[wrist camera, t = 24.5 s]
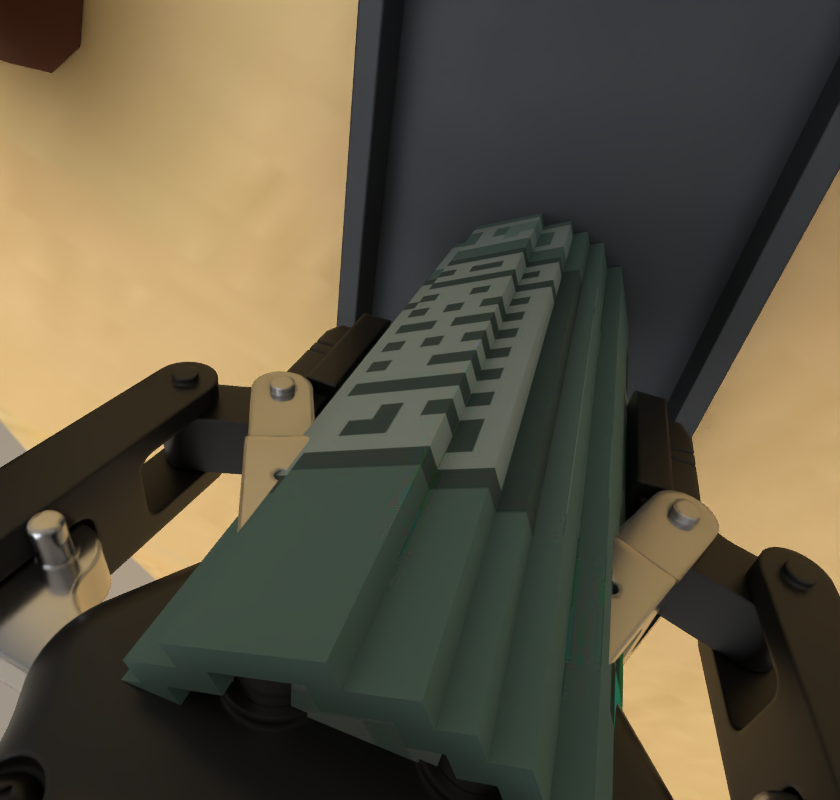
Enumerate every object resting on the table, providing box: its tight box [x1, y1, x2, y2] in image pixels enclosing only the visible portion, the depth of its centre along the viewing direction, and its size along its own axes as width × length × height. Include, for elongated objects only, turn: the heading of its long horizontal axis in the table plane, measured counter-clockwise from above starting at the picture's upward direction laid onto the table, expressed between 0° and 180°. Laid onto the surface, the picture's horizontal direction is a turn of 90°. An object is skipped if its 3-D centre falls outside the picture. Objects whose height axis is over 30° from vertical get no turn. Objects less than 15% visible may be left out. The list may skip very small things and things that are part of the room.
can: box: [121, 213, 629, 800], centre depth 13 cm, size 6×6×15 cm
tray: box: [337, 0, 840, 438], centre depth 14 cm, size 12×26×2 cm, turn 171°
